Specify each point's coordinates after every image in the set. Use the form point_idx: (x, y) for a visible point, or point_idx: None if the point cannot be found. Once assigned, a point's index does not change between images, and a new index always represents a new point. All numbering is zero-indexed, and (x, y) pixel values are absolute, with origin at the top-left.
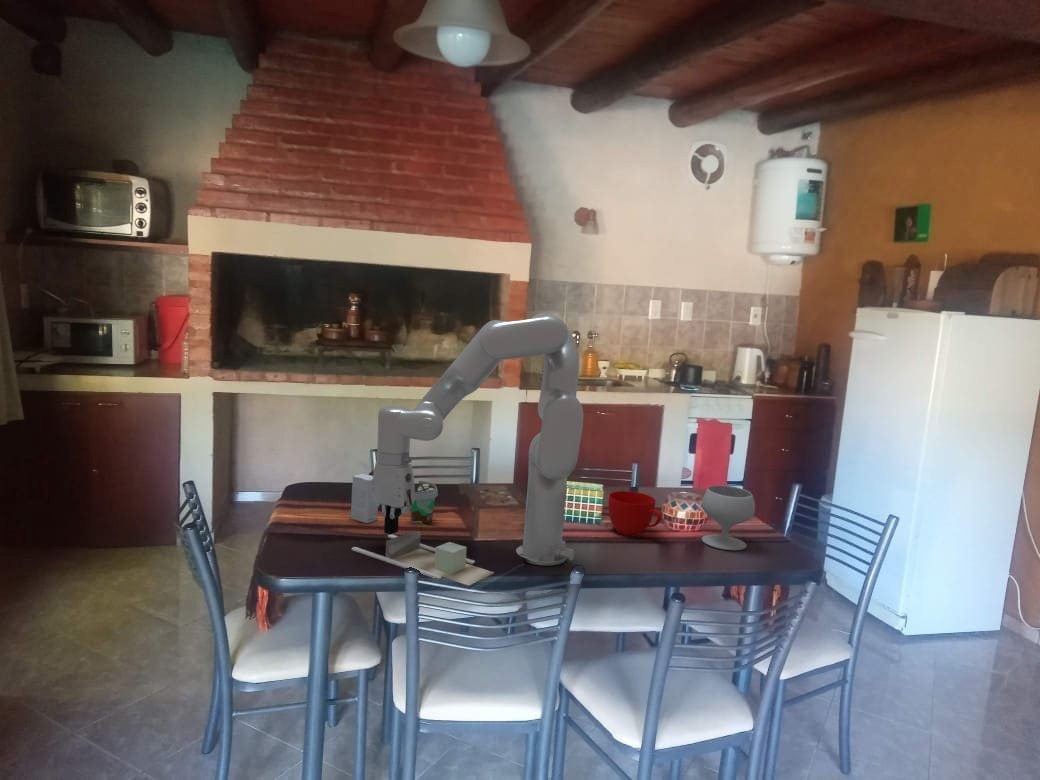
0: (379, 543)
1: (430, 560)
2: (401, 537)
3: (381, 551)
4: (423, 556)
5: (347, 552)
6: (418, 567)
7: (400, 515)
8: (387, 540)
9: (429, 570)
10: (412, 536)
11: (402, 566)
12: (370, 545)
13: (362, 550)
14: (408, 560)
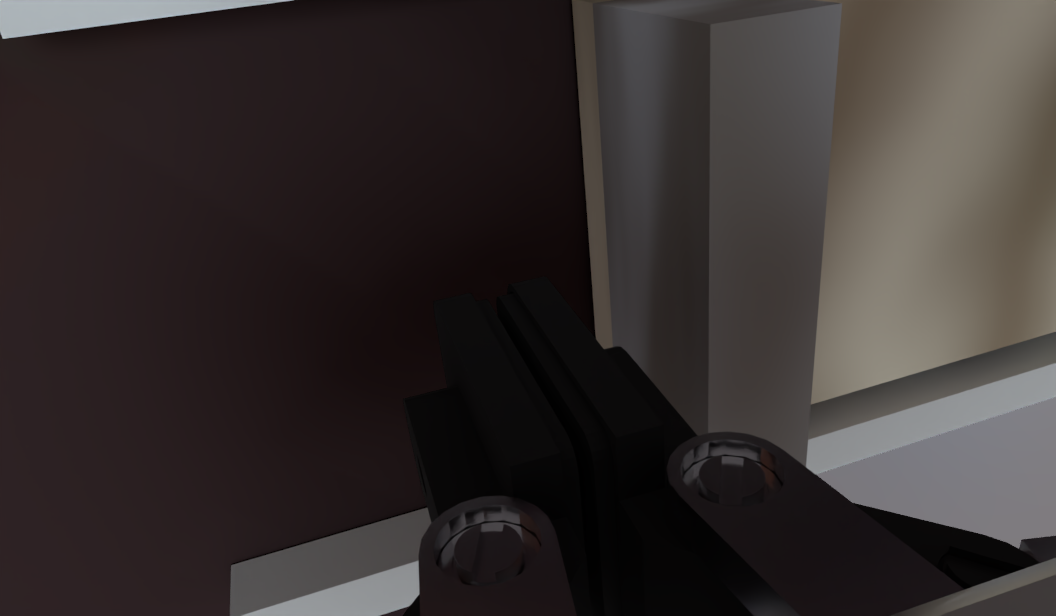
0: (53, 177)
1: (966, 153)
2: (761, 384)
3: (342, 317)
4: (867, 140)
5: (163, 611)
6: (958, 345)
7: (774, 460)
8: None
9: (1052, 310)
10: (816, 208)
11: (865, 451)
12: (71, 319)
13: (374, 594)
14: (817, 328)
